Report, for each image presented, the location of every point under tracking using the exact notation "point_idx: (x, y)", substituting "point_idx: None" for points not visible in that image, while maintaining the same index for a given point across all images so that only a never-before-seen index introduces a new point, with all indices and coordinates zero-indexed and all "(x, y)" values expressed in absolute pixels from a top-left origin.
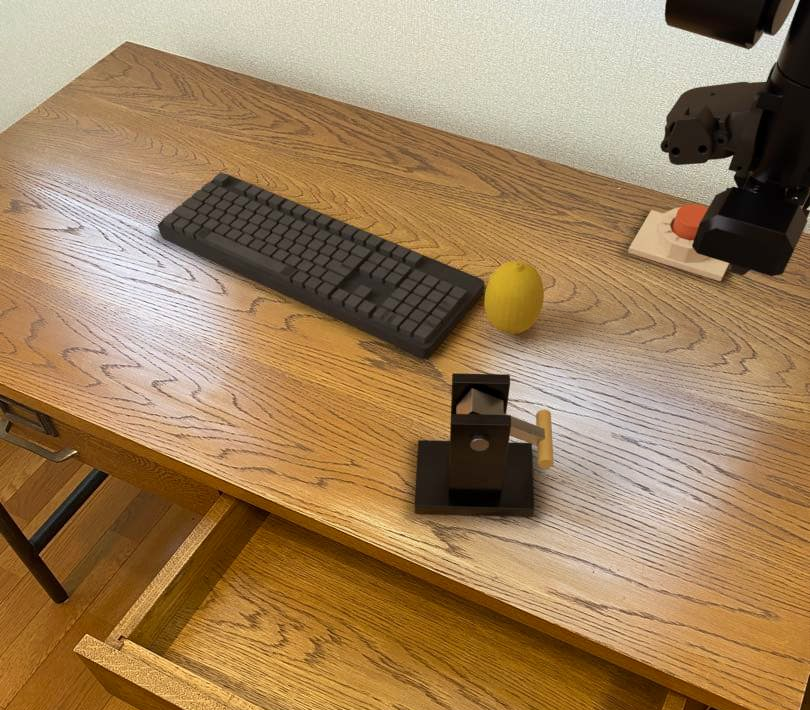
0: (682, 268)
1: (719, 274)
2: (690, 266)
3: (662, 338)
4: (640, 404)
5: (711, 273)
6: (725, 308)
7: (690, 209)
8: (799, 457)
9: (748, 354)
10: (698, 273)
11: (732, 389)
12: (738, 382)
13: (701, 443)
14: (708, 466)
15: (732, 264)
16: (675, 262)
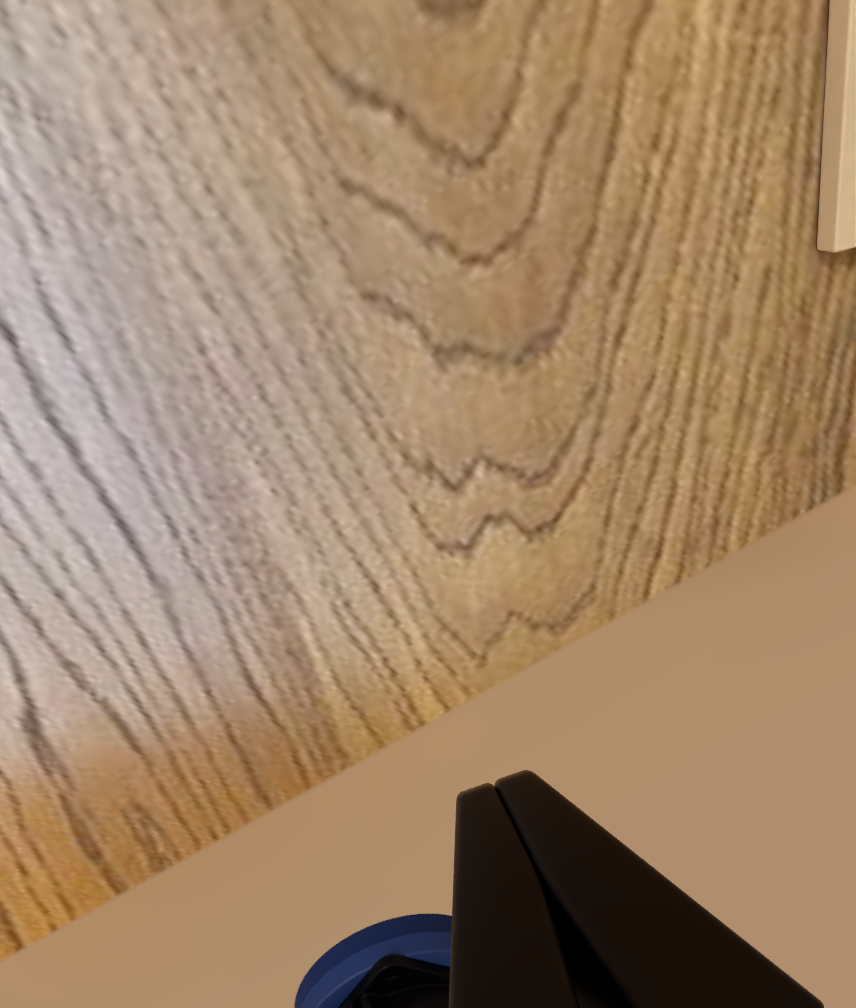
0: (829, 74)
1: (839, 237)
2: (844, 106)
3: (424, 239)
4: (42, 381)
5: (835, 206)
6: (696, 341)
7: None
8: (262, 811)
9: (535, 516)
10: (826, 152)
11: (363, 566)
12: (403, 562)
13: (77, 633)
14: (12, 698)
15: (457, 858)
16: (846, 28)
